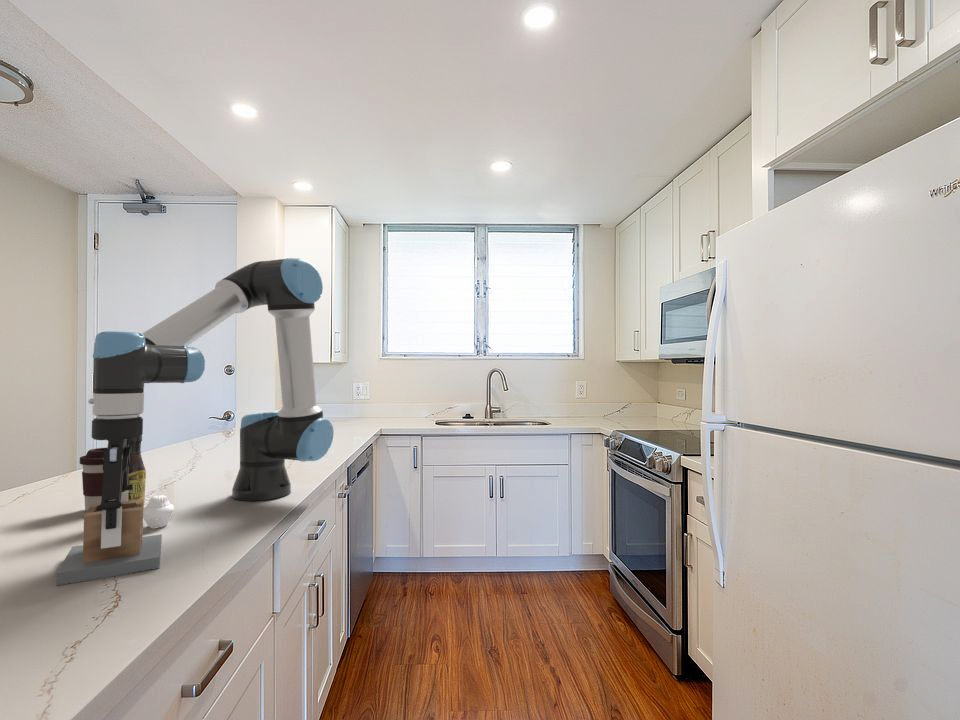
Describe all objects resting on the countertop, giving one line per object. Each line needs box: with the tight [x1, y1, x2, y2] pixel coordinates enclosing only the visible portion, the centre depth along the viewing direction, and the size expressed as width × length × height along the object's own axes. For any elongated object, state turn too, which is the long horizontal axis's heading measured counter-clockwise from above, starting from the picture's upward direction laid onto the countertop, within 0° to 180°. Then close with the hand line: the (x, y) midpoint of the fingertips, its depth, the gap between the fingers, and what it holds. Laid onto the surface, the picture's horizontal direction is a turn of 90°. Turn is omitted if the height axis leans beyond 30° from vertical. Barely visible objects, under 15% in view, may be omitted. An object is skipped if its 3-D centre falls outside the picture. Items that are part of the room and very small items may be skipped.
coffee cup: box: [79, 446, 110, 513], centre depth 123 cm, size 10×10×15 cm
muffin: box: [143, 494, 175, 529], centre depth 110 cm, size 6×6×7 cm
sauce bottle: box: [126, 435, 147, 509], centre depth 113 cm, size 7×6×20 cm
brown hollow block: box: [82, 499, 145, 563], centre depth 90 cm, size 8×8×8 cm
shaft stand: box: [55, 533, 163, 587], centre depth 89 cm, size 14×14×8 cm
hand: (115, 536), depth 89 cm, fingers open, 12 cm apart
